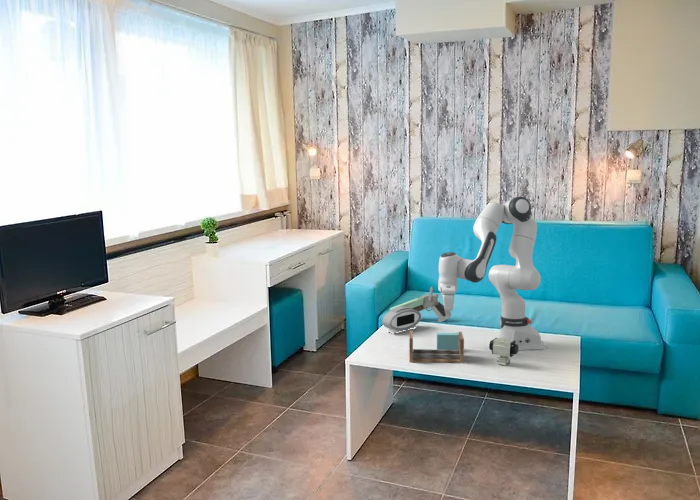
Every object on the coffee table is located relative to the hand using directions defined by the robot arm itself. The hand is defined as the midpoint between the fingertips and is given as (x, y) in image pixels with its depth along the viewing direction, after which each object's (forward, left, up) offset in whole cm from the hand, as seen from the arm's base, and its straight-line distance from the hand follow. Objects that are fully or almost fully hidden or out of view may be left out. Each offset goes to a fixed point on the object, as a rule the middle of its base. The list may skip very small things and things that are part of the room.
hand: (447, 315), depth 282 cm
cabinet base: (+6, +13, -17) cm, 22 cm away
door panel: (0, 0, -17) cm, 17 cm away
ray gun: (+12, -55, -17) cm, 59 cm away
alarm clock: (+22, -33, -17) cm, 43 cm away
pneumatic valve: (-23, +20, -17) cm, 35 cm away
